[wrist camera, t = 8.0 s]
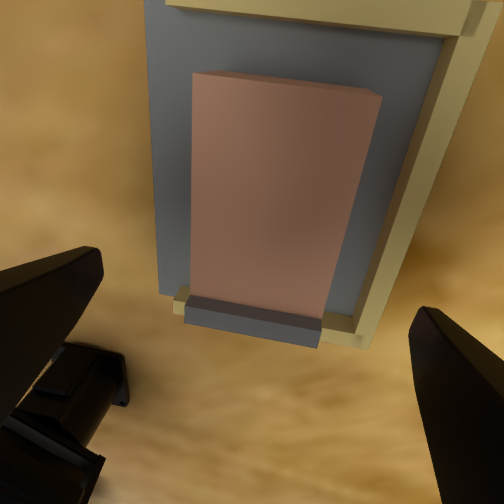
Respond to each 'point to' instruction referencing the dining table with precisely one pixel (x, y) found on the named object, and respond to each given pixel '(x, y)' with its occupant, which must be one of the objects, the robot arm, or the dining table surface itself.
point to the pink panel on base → (271, 199)
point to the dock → (331, 72)
